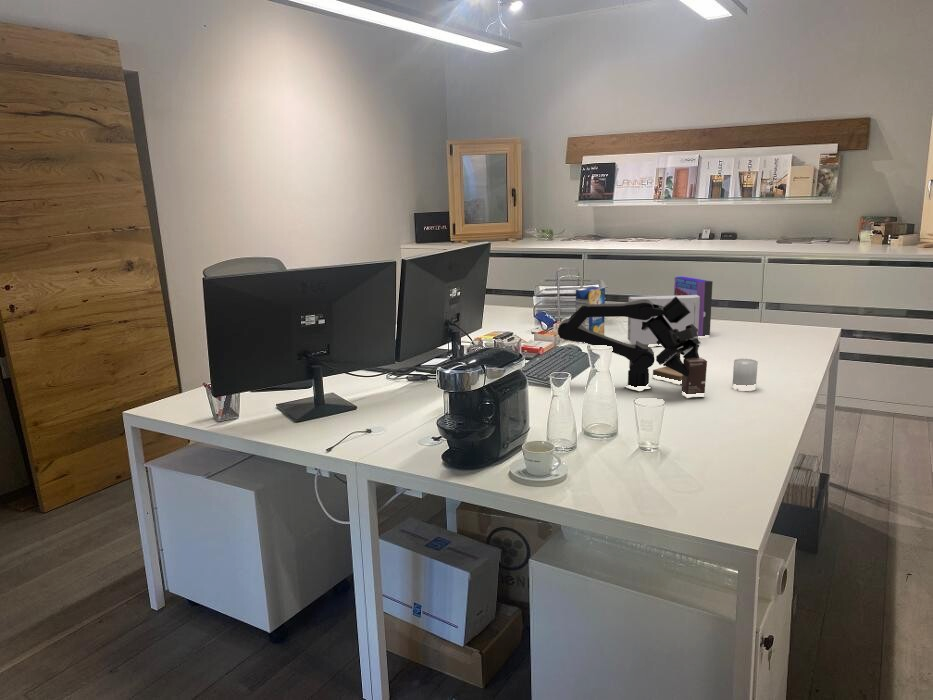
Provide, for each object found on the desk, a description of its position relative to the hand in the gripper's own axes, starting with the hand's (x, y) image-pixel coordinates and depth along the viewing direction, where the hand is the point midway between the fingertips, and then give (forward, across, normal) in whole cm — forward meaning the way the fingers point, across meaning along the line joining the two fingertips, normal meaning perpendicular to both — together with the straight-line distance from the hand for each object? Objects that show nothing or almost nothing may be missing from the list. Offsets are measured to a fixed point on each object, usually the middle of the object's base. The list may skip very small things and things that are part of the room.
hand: (695, 372), depth 218 cm
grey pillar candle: (+11, +17, 0) cm, 21 cm away
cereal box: (-23, +79, +34) cm, 89 cm away
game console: (-23, +54, +34) cm, 68 cm away
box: (+6, 0, +6) cm, 8 cm away
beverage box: (-43, +45, +54) cm, 83 cm away
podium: (-4, +15, +15) cm, 21 cm away
